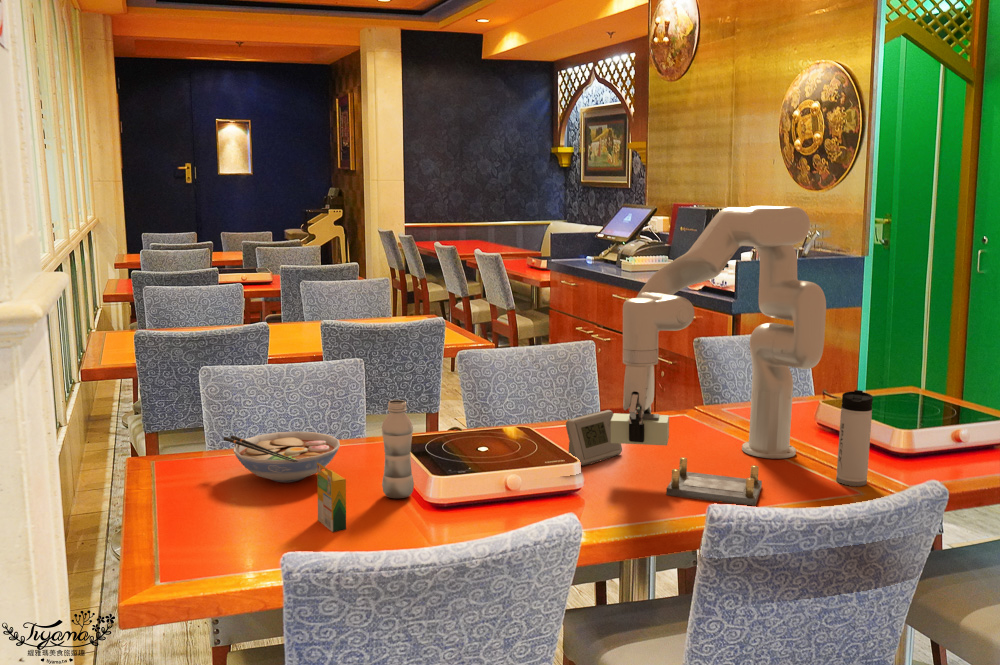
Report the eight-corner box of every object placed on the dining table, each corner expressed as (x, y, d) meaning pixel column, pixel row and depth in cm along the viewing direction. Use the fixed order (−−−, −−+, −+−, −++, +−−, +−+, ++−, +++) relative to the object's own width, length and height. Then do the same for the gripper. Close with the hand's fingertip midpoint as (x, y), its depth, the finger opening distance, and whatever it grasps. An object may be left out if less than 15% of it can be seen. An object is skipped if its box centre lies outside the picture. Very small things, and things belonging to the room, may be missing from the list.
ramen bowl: (365, 478, 199) (364, 442, 198) (275, 503, 183) (274, 464, 181) (298, 455, 216) (297, 421, 215) (210, 476, 200) (209, 440, 198)
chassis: (677, 477, 202) (678, 455, 201) (761, 487, 196) (762, 464, 195) (666, 495, 190) (667, 471, 189) (755, 506, 184) (756, 482, 183)
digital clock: (577, 469, 208) (578, 423, 206) (553, 459, 215) (554, 415, 214) (631, 458, 216) (633, 414, 215) (607, 449, 224) (608, 407, 222)
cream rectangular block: (613, 435, 202) (613, 410, 202) (668, 437, 200) (668, 412, 199) (610, 443, 197) (610, 418, 196) (667, 445, 194) (667, 420, 193)
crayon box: (347, 529, 169) (346, 469, 168) (332, 532, 168) (331, 472, 166) (332, 517, 175) (330, 459, 174) (317, 520, 174) (316, 461, 172)
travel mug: (867, 479, 202) (874, 391, 199) (865, 488, 196) (872, 397, 193) (837, 475, 204) (843, 388, 201) (834, 484, 198) (841, 394, 195)
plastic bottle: (389, 504, 183) (388, 407, 180) (377, 494, 189) (376, 400, 186) (418, 499, 186) (418, 403, 183) (406, 489, 192) (406, 396, 189)
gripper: (632, 347, 204) (632, 424, 207) (613, 363, 188) (613, 447, 191) (665, 349, 201) (665, 427, 205) (649, 365, 186) (649, 450, 189)
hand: (640, 436), depth 198 cm, fingers closed on cream rectangular block, 6 cm apart
